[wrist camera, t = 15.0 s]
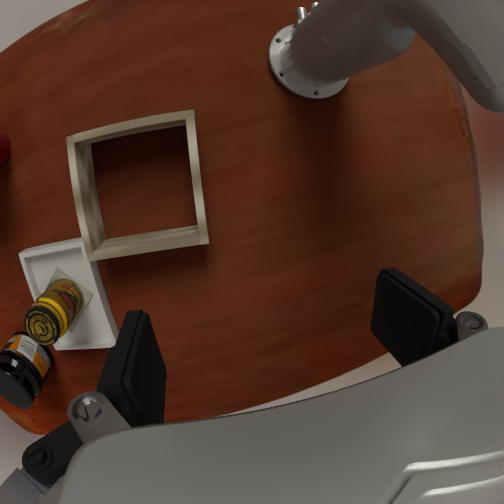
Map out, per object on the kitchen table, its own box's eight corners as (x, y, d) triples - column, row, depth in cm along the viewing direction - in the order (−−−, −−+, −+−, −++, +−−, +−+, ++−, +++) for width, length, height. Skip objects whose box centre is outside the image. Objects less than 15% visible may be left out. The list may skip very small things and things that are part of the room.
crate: (84, 138, 32) (66, 137, 27) (194, 116, 35) (193, 109, 29) (101, 247, 38) (88, 261, 32) (207, 230, 40) (209, 243, 34)
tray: (26, 248, 35) (18, 253, 33) (90, 235, 37) (84, 240, 35) (60, 342, 41) (55, 350, 39) (121, 338, 43) (118, 347, 41)
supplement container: (37, 325, 39) (9, 365, 28) (63, 369, 43) (44, 412, 32) (5, 331, 38) (-23, 367, 27) (29, 372, 42) (9, 410, 31)
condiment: (93, 293, 39) (72, 325, 27) (71, 332, 38) (50, 371, 27) (57, 266, 36) (25, 288, 25) (37, 307, 36) (7, 338, 25)
